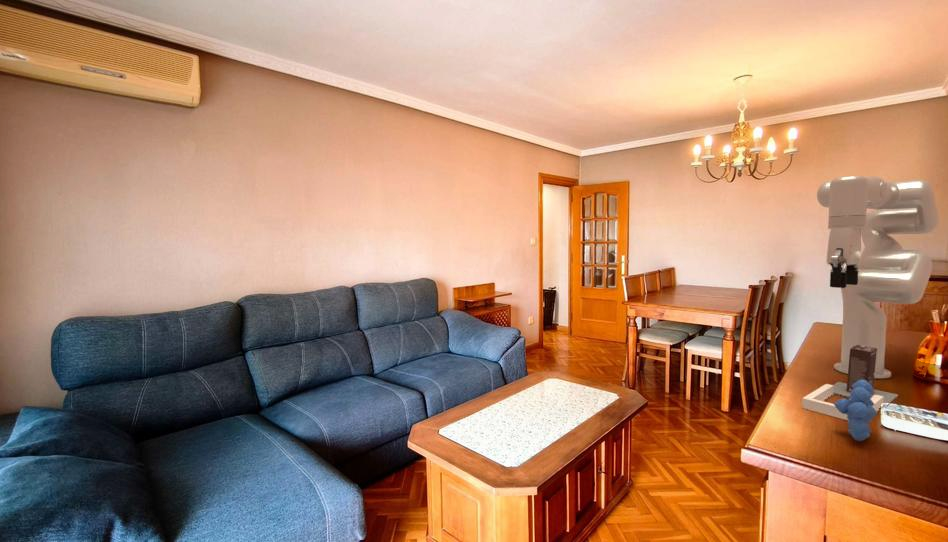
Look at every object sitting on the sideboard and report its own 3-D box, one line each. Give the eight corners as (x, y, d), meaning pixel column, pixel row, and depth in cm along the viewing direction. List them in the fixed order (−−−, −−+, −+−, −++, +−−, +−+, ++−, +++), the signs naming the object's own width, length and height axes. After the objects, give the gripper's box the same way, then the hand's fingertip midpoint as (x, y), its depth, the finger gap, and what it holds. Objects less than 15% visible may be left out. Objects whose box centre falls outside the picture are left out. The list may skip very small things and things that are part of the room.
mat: (838, 383, 115) (838, 381, 115) (898, 396, 105) (898, 394, 105) (824, 391, 109) (824, 390, 109) (886, 406, 99) (886, 404, 99)
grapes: (836, 421, 92) (838, 370, 91) (878, 431, 87) (881, 377, 86) (828, 439, 84) (830, 383, 83) (873, 451, 79) (876, 391, 78)
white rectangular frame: (826, 392, 108) (826, 383, 108) (883, 406, 99) (883, 396, 99) (801, 408, 99) (802, 398, 99) (862, 424, 90) (862, 413, 90)
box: (868, 397, 104) (871, 351, 103) (845, 392, 108) (847, 347, 107) (875, 392, 107) (877, 347, 106) (852, 387, 111) (854, 344, 110)
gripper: (839, 223, 117) (836, 282, 118) (817, 223, 108) (815, 287, 109) (875, 222, 111) (872, 284, 112) (855, 222, 101) (852, 290, 103)
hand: (843, 285), depth 110 cm, fingers open, 9 cm apart
